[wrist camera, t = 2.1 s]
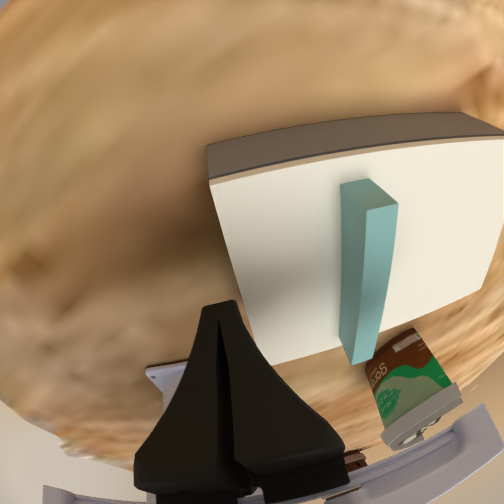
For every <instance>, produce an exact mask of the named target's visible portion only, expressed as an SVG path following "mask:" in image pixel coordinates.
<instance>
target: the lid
mask: <svg viewBox="0 0 504 504" xmlns="http://www.w3.org/2000/svg"><path fill="white" fill-rule="evenodd" d="M209 186H210V190H211V193H212V197H213V200H214V204H215V207H216V211H217V214H218V218H219V221H220V225H221V228H222V232H223V235H224V239H225V242H226V246H227V249H228V253H229V256H230V259H231V263H232V266H233V270H234V273H235V276H236V280H237V283H238V286H239V290H240V293H241V296H242V300H243V303H244V306H245V310H246V313H247V316H248V320H249V323H250V326H251V329H252V333H253V336H254V339H255V342H256V345H257V347H258V349H259V350H260V351H261V353H262V354H263V356H264V357H265V359H266V360H267V361H268V363H269V364H270V365H271V366H272V365H276V364H279V363H283V362H287V361H291V360H295V359H298V358H302V357H305V356H309V355H312V354H316V353H319V352H322V351H326V350H329V349H332V348H335V347H338V346H343V348H344V350H345V352H346V355H347V357H348V359H349V361H350V364H351V366H352V365H355V364H358V363H361V362H364V361H366V360H369V359H372V358H373V354H374V350H375V346H376V342H377V338H378V333H379V332H382V331H385V330H387V329H390V328H393V327H395V326H398V325H400V324H403V323H405V322H408V321H410V320H413V319H415V318H418V317H420V316H423V315H425V314H427V313H430V312H432V311H434V310H437V309H439V308H441V307H443V306H445V305H448V304H450V303H452V302H454V301H456V300H458V299H461V298H463V297H465V296H467V295H469V294H471V293H473V292H475V291H477V290H479V289H480V288H481V286H482V284H483V281H484V279H485V276H486V274H487V271H488V268H489V266H490V263H491V260H492V257H493V254H494V252H495V249H496V246H497V243H498V239H499V236H500V233H501V230H502V226H503V223H504V136H483V137H465V138H451V139H439V140H428V141H418V142H409V143H400V144H392V145H385V146H377V147H370V148H363V149H357V150H350V151H344V152H338V153H332V154H327V155H321V156H315V157H310V158H305V159H300V160H295V161H290V162H285V163H280V164H275V165H271V166H266V167H261V168H257V169H253V170H248V171H244V172H240V173H236V174H232V175H227V176H223V177H219V178H216V179H212V180H209Z"/></svg>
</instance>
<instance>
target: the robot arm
mask: <svg viewBox="0 0 504 504" xmlns="http://www.w3.org/2000/svg"><path fill="white" fill-rule="evenodd" d="M145 374H146V376H147V377H148V378H149V379H150V380H151V381H152V382H153V383H154V385H155V386H156V387H157V388H158V389H159V390H160V391H161V392H162V393H163V415H162V417H161V418H160V420H159V421H158V423H157V425H156V426H155V428H154V429H153V431H152V432H151V434H150V435H149V436H148V438H147V439H146V440H145V442H144V443H143V444H142V446H141V447H140V448H139V450H138V451H137V452H136V453H135V459H134V486H135V487H136V488H137V489H139V490H142V491H145V492H147V502H133V501H121V500H111V499H103V498H96V497H89V496H83V495H77V494H73V493H72V492H68V491H66V490H63V489H59V488H54V487H50V486H46V485H44V486H43V504H298V503H302V502H306V501H310V500H314V499H318V498H322V497H325V496H329V495H332V494H335V493H338V492H342V491H345V490H348V489H351V488H354V487H356V486H359V485H361V486H360V487H359V490H357V491H354V492H351V493H348V494H345V495H343V496H340V497H337V498H334V499H331V500H327V501H325V502H324V504H428V503H430V502H431V501H433V500H435V499H437V498H438V497H440V496H441V495H443V494H445V493H446V492H448V491H449V490H451V489H452V488H454V487H455V486H457V485H458V484H460V483H461V482H462V481H464V480H465V479H466V478H468V477H470V476H471V475H472V474H474V473H475V472H476V471H477V470H479V469H480V468H482V467H483V466H484V465H486V464H487V463H488V462H490V461H491V460H492V459H493V458H495V457H496V456H497V455H499V454H500V453H501V452H502V451H503V450H504V443H503V441H502V439H501V437H500V435H499V432H498V430H497V428H496V426H495V424H494V422H493V420H492V418H491V417H490V414H489V412H488V410H487V409H486V406H485V405H484V403H481V404H479V405H478V406H476V407H475V408H473V409H472V410H471V411H469V412H467V413H466V414H464V415H463V416H461V417H460V418H458V419H457V420H456V421H455V422H454V423H453V424H452V425H451V426H449V427H448V428H446V429H444V430H442V431H441V432H439V433H437V434H435V435H433V436H432V437H430V438H428V439H426V440H424V441H422V442H420V443H418V444H416V445H414V446H412V447H410V448H408V449H406V450H404V451H402V452H399V453H397V454H395V455H393V456H390V457H388V458H386V459H383V460H381V461H378V462H376V463H374V464H371V465H368V466H366V467H363V468H360V469H357V470H355V471H352V472H349V473H347V470H346V466H345V464H346V463H345V460H344V457H343V452H344V450H345V445H344V443H343V441H342V439H341V438H340V436H339V435H338V434H337V432H336V431H335V430H334V429H333V428H332V427H331V425H330V424H329V423H328V421H326V420H325V419H324V418H323V417H321V416H320V415H319V414H318V413H317V412H315V411H314V410H313V409H312V408H311V407H310V406H309V405H307V404H306V403H305V402H304V401H303V400H302V399H301V398H300V397H299V396H298V395H297V394H296V393H295V392H294V391H293V390H292V389H291V388H290V387H289V386H288V385H287V384H286V383H285V382H284V381H283V379H282V378H281V377H280V376H279V375H278V374H277V373H276V371H275V370H274V369H273V368H272V366H271V365H270V364H269V363H268V361H267V360H266V359H265V357H264V356H263V354H262V353H261V351H260V350H259V349H258V347H257V346H256V344H255V342H254V341H253V339H252V337H251V336H250V334H249V332H248V331H247V329H246V327H245V325H244V323H243V320H242V317H241V314H240V311H239V308H238V305H237V302H236V301H235V300H229V301H224V302H220V303H216V304H212V305H207V306H204V307H203V308H202V310H201V316H200V321H199V325H198V329H197V333H196V337H195V340H194V343H193V347H192V350H191V353H190V356H189V359H188V361H186V362H181V363H175V364H169V365H163V366H157V367H151V368H147V369H145Z"/></svg>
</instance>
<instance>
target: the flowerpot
mask: <svg viewBox="0 0 504 504" xmlns="http://www.w3.org/2000/svg"><path fill="white" fill-rule="evenodd" d="M343 457H344V460H345V463H346V464H345V466H346V470H347V473H349V472H352V471H355V470H357V469H360V468H363V467H366V466H368V465H367V464H366V462H365V461H364V460H365V459H366V457H365V456H364V454H362V453H360V452H359V451H351V452H347V453H344V454H343ZM360 486H361V485H359V486H356V487H354V488H351V489H348V490H345V491H342V492H338V493H335V494H332V495H329V496H325V497H322V499H326V501H327V500H331V499H334V498H337V497H340V496H343V495H345V494H348V493H351V492H354V491H357V490H359V487H360Z"/></svg>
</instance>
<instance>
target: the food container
mask: <svg viewBox="0 0 504 504" xmlns="http://www.w3.org/2000/svg"><path fill="white" fill-rule="evenodd" d="M365 371H366V374H367V377H368V380H369V383H370V386H371V389H372V392H373V395H374V398H375V400H376V403H377V406H378V410H379V413H380V416H381V419H382V422H383V425H384V428H385V430H384V431H383V433H382V434H381V438H382V440H383V441H384V442H385V444H386V445H387V447H391V449H392V451H398V450H402V449H404V448H407V447H410V446H412V445H414V444H416V443H418V442H420V441H423V440H424V438H423V435H422V433H423V432H424V430H426V429H427V428H428V427H429V426H431V425H433V424H435V423H436V422H438V421H439V419H440V418H441V416H443V415H444V414H446V413H447V412H449V411H450V410H452V409H454V408H455V407H457V406H458V405H460V404H462V403H463V401H462V399H461V397H460V396H461V393H460V391H459V388H458V386H457V383H456V382H455V383H453V384H452V383H451V381H450V380H449V378H448V377H447V375H446V374H445V372H444V371H443V369H442V368H441V366H440V365H439V363H438V362H437V360H436V359H435V357H434V356H433V354H432V353H431V351H430V350H429V348H428V347H427V346H426V344H425V343H424V341H423V340H422V338H421V337H420V336H419V334H418V333H417V331H416V330H415V329H414V328H411V329H409V330H407V331H405V332H403V333H401V334H400V335H398V336H396V337H395V338H393V339H391V340H390V341H389V342H388V343H386V344H385V345H384V346H382V347H381V348H380V349H379V350H378V351H377V352H376V353H375V354H374V355H373V358H372V359H370V360H369V361H368V363H367V365H366V368H365Z"/></svg>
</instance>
